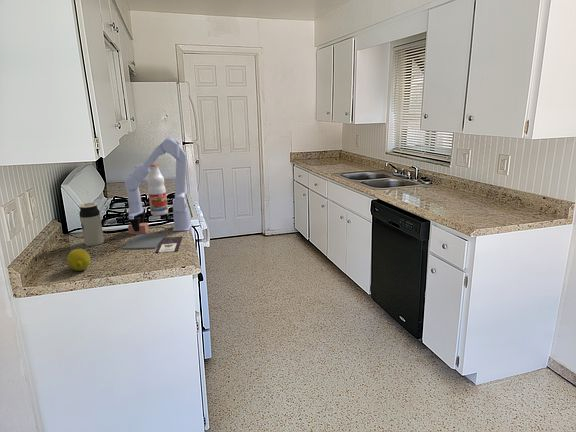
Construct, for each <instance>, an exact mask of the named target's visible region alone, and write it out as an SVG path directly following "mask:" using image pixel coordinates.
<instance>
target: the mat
mask: <svg viewBox="0 0 576 432" xmlns="http://www.w3.org/2000/svg"><path fill="white" fill-rule="evenodd" d="M167 235H168V233H146V234H135V236H134V237H132V238H131V240H129V241H128V242H127V243H126V244H125V245H124V246H123V247H122V248H121V249H122V250H149V249H151V250H152V249H157V248H158V245H159V243H160V241H161V240H162V239H163V238H166V237H167Z"/></svg>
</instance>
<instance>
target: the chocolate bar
mask: <svg viewBox="0 0 576 432" xmlns="http://www.w3.org/2000/svg"><path fill="white" fill-rule="evenodd" d="M182 241H183V236H182V235H181V236H169V237H167V236H166V237H165V238H163V239H162V240H161V241H160V243H159V245H158V246H157V247H156V250H155V254H164V253H175V252H179V249H180V246H181V242H182Z"/></svg>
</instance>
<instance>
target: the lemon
mask: <svg viewBox="0 0 576 432" xmlns="http://www.w3.org/2000/svg"><path fill="white" fill-rule="evenodd" d="M66 263H67V266H68V267H69V268H70V270H73V271H76V272H77V271H78V272H79V271H80V272H81V271H85V270H86V269H88V268H89V266H90V264H91V256H90V254H89V253H88V251H86V250H85V249H82V248H75V249H73V250H71V251H70V252H69V253H68V254H67V257H66Z"/></svg>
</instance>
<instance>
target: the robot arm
mask: <svg viewBox="0 0 576 432" xmlns="http://www.w3.org/2000/svg"><path fill="white" fill-rule="evenodd" d="M166 153H167V154H169V155H171V156H172V158H174V159H175V186H174V187H175V188H174V191H175V193H174V199H173V203H172V204H171V205H172V214H173V215H172V216H173V224H174V228H172V232H182V231H187V232H188V231H190V229H191V228H192V226H193V225H194V224H193V223H191V216H190V215H191V214H190V213H191V212H190V211H189V208H188V207H187V202H188V200H187V199H186V176H187V175H186V173H187V172H186V169H187V167H186V166H187V155H186V152H185V151H184V149H183V147H182V146H181V145H180V142H179V141H178V140H177V139H175V138H174V137H167V138H165V139H164V140H163V141H162V142H161V143H160V144H159V145H157V146H156V147H155V148H154V150H152V152H151V153H150V155H149V156H148V157H147V159H145V161H144V162H143V163H139V164H136V165H135V167H134V168H135V169H134V170H133V172H132V173H130V174H129V175H128V176H129V177H128V178H126V179H125V182H124V186H125V189H126V192H127V193H126V196H127V202H128V203H127V204H128V209H129V210H127V211H126V213H127V214H128V217H127V221H128V222H129V223H130V224H131V225H132V227H133V229H134V231H139V223H145V222H144V221H145V216H146V212H144V211H145V209H144V207H143V205H142V198H141V192H140V184H141V183H142V182H143V181H144V180H145V178H147V177H148V175H149V172H150V166H151V165H152V164H155V163H156V161H157V160H158V159H159V157H160V156H163V155H165V154H166Z"/></svg>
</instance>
